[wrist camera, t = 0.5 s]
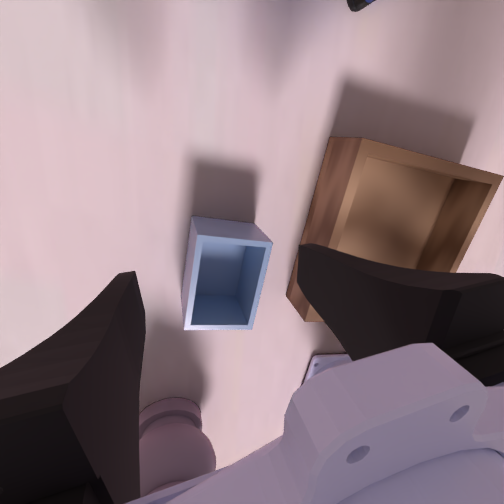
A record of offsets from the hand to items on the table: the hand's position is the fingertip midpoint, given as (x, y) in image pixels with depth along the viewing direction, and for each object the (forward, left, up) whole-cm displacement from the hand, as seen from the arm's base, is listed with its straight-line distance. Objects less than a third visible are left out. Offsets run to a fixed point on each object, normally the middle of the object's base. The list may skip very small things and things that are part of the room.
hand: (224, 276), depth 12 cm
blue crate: (-3, -2, -10) cm, 11 cm away
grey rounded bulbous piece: (-21, 0, -10) cm, 24 cm away
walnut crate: (+1, -16, -10) cm, 19 cm away
